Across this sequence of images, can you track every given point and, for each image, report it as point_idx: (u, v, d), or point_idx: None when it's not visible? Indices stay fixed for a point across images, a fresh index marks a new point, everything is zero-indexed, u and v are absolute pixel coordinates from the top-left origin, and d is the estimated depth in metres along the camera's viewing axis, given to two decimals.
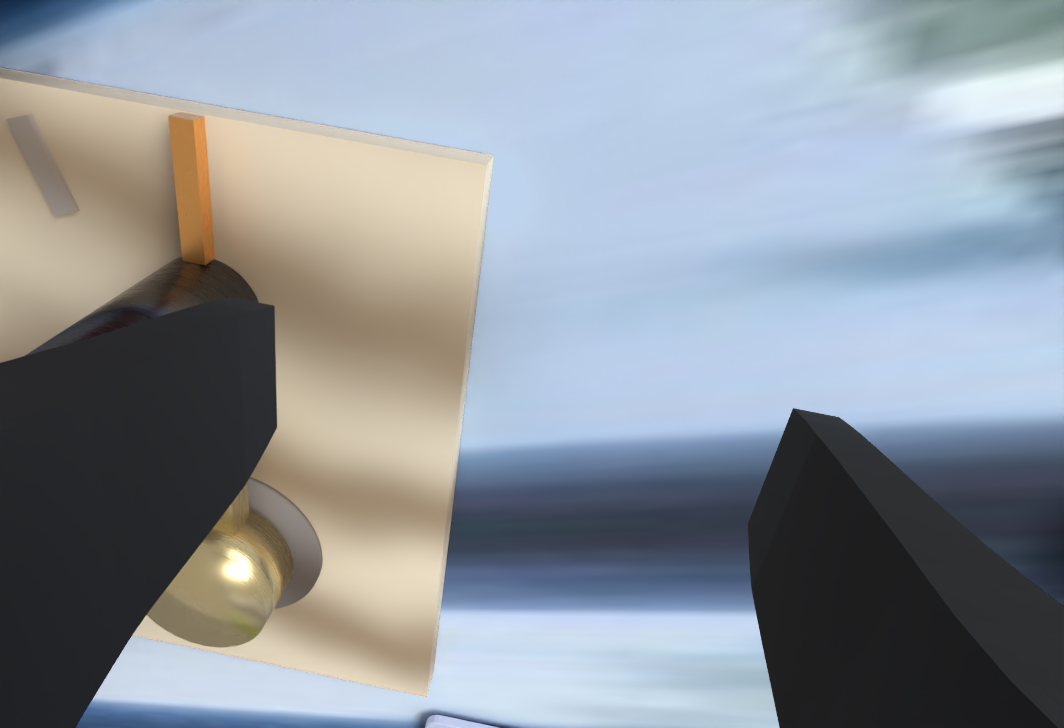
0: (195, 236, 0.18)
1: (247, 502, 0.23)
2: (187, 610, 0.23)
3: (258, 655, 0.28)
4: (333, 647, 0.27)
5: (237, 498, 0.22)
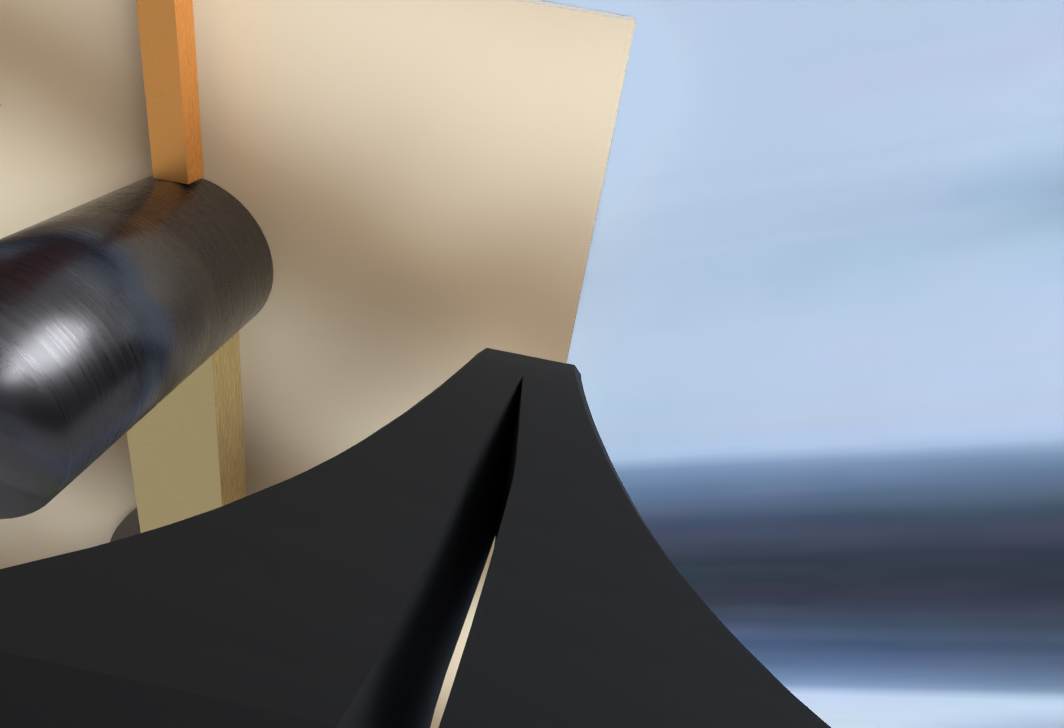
0: (173, 137, 0.12)
1: None
2: None
3: None
4: None
5: None
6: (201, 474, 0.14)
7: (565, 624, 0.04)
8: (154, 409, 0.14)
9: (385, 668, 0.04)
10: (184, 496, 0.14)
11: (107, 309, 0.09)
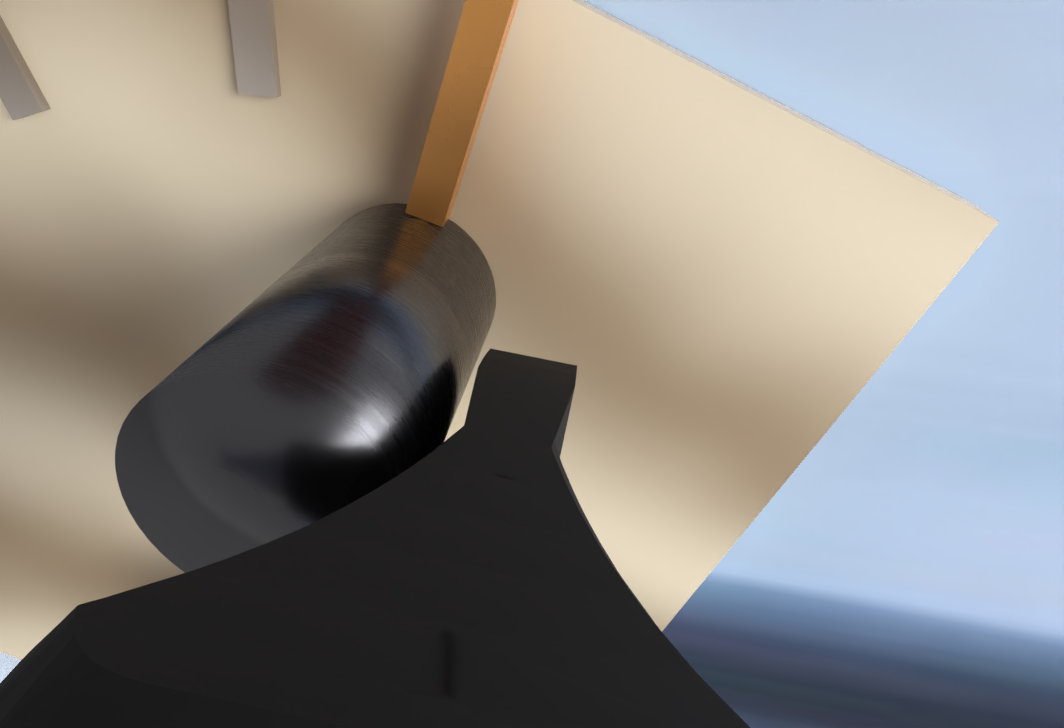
0: (444, 177, 0.11)
1: None
2: None
3: None
4: None
5: None
6: None
7: (475, 606, 0.04)
8: None
9: None
10: None
11: (428, 393, 0.08)
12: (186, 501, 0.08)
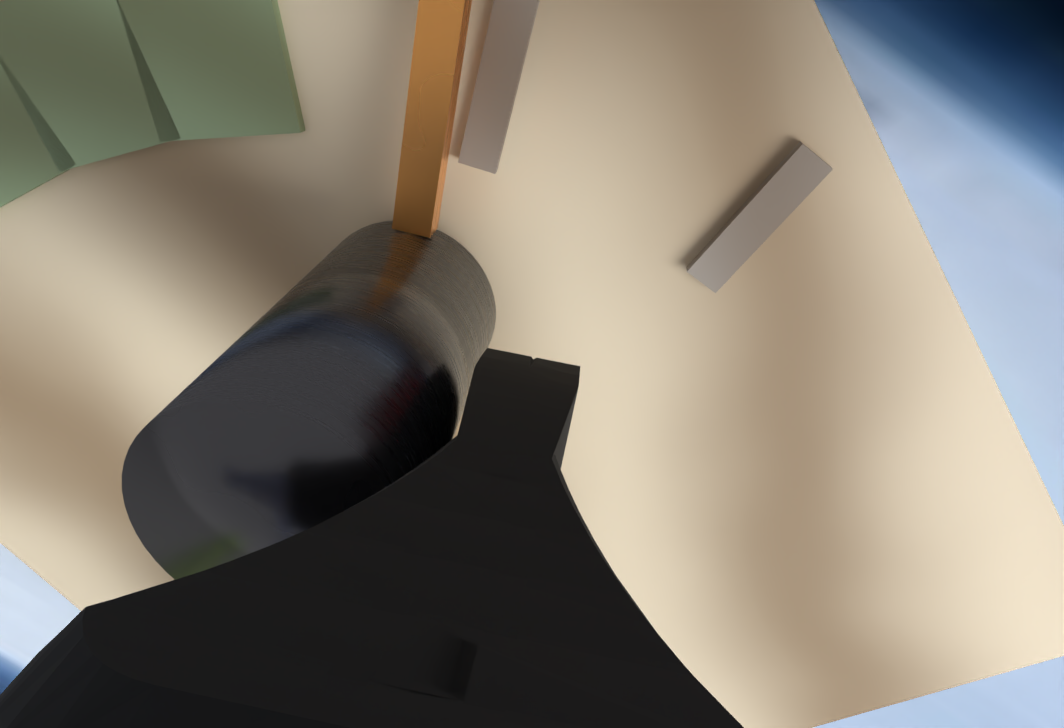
0: (424, 188, 0.11)
1: None
2: None
3: None
4: None
5: None
6: None
7: (469, 605, 0.04)
8: None
9: None
10: None
11: (420, 398, 0.08)
12: (195, 531, 0.08)
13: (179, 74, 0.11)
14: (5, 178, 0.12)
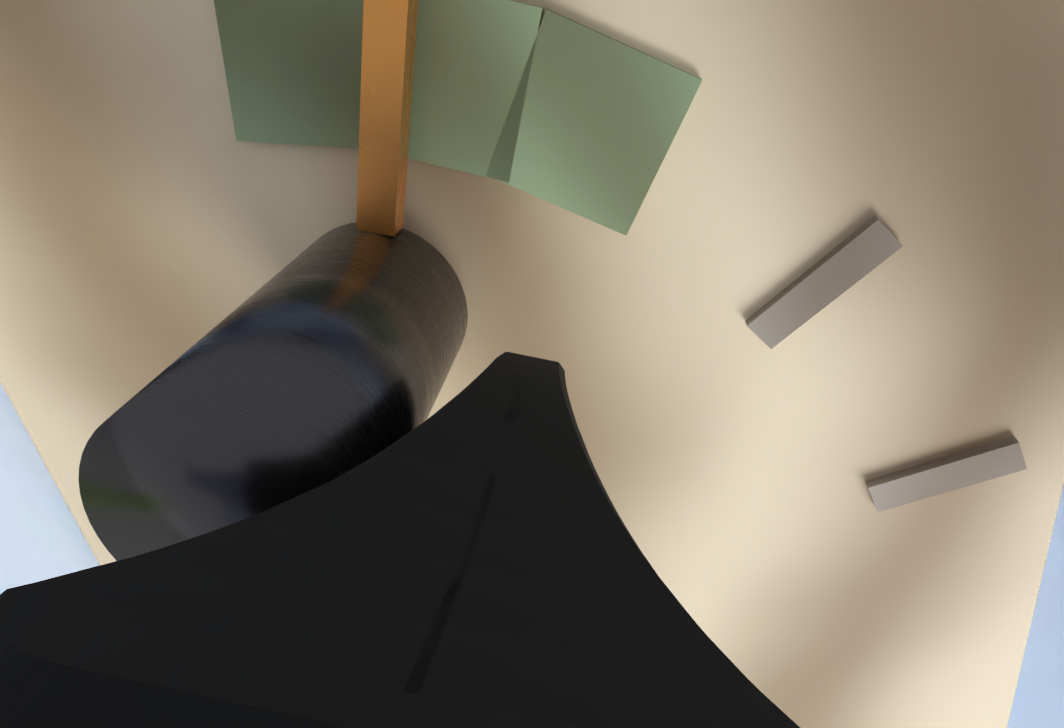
0: (384, 187, 0.11)
1: None
2: None
3: None
4: None
5: None
6: None
7: (530, 617, 0.04)
8: None
9: None
10: None
11: (374, 392, 0.08)
12: (154, 532, 0.08)
13: (548, 133, 0.11)
14: (295, 123, 0.11)
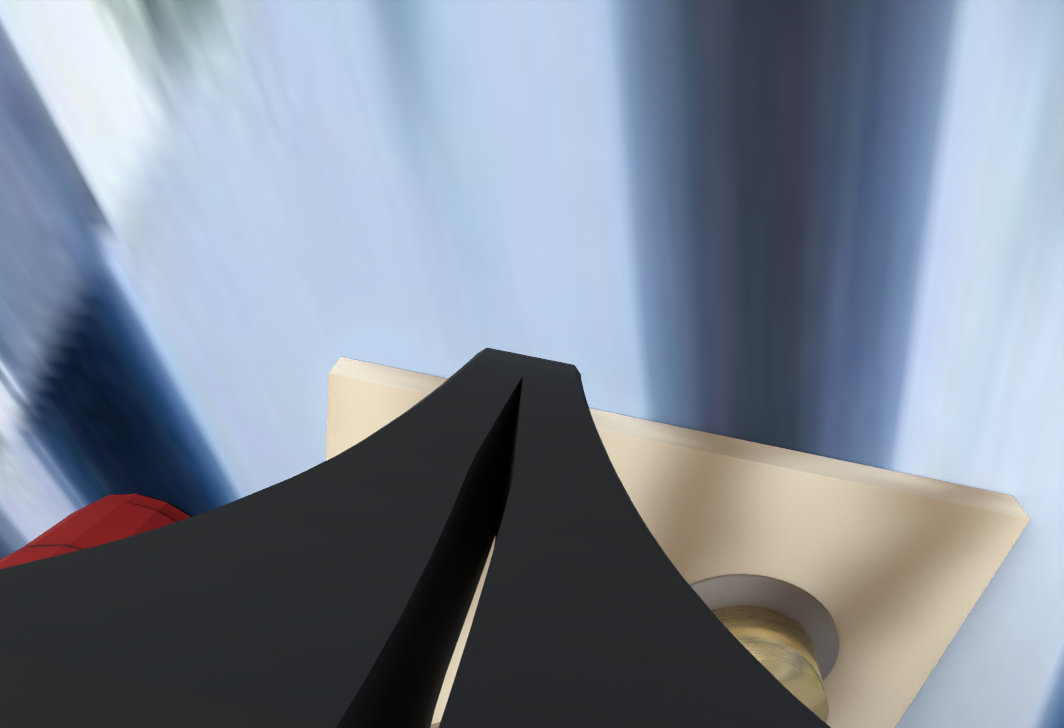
0: None
1: None
2: None
3: (919, 669, 0.23)
4: (915, 596, 0.22)
5: None
6: None
7: (563, 624, 0.04)
8: None
9: (385, 668, 0.04)
10: None
11: None
12: None
13: None
14: None
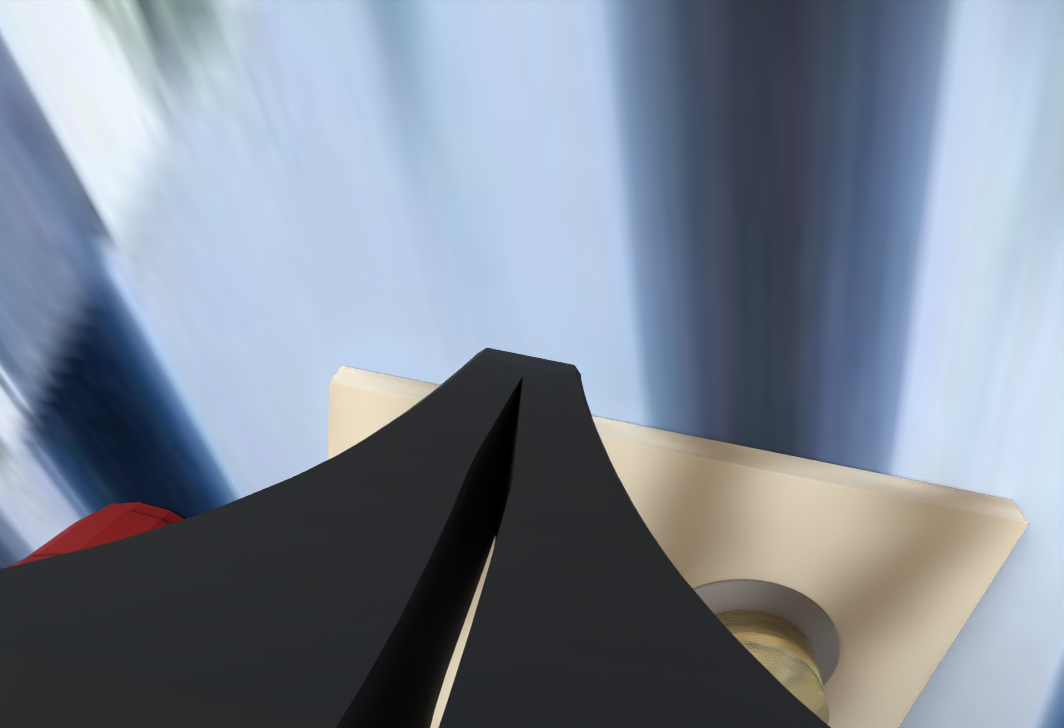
0: None
1: None
2: None
3: (920, 672, 0.24)
4: (915, 601, 0.22)
5: None
6: None
7: (563, 624, 0.04)
8: None
9: (385, 668, 0.04)
10: None
11: None
12: None
13: None
14: None
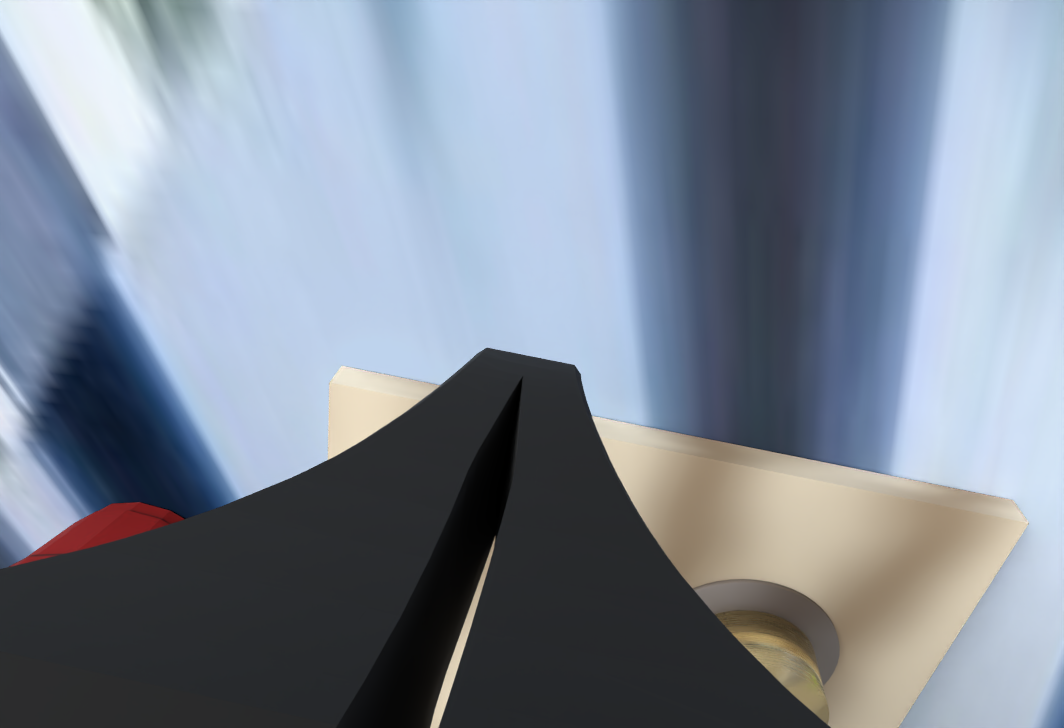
0: None
1: None
2: None
3: (920, 672, 0.24)
4: (915, 601, 0.22)
5: None
6: None
7: (563, 624, 0.04)
8: None
9: (385, 668, 0.04)
10: None
11: None
12: None
13: None
14: None
